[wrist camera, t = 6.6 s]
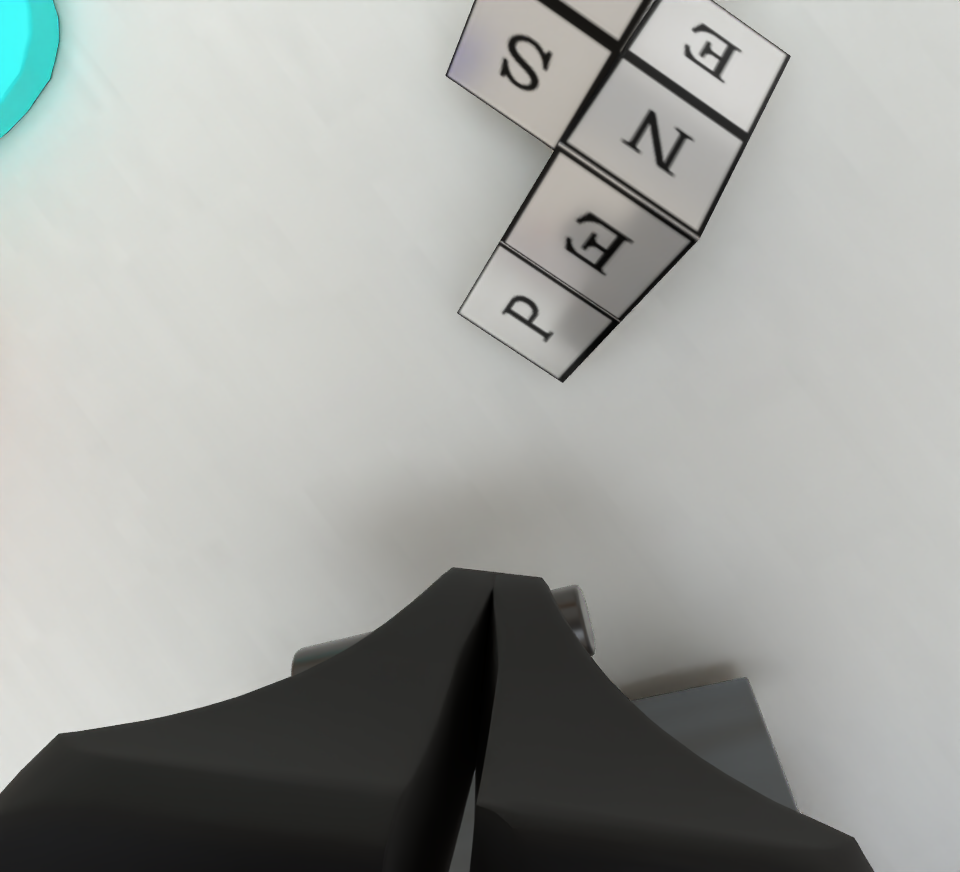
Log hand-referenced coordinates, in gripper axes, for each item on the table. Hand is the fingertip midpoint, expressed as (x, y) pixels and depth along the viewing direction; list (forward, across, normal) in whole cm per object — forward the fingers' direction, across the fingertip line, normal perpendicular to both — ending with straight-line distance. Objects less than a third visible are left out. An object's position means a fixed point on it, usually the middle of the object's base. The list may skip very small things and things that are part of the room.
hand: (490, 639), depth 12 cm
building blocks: (+10, -1, -7) cm, 12 cm away
